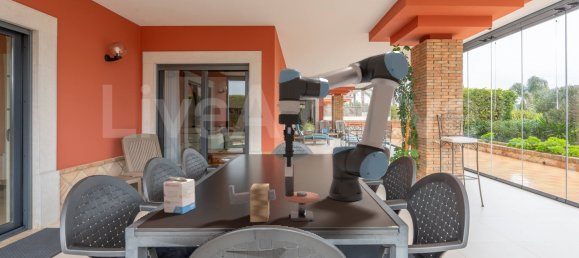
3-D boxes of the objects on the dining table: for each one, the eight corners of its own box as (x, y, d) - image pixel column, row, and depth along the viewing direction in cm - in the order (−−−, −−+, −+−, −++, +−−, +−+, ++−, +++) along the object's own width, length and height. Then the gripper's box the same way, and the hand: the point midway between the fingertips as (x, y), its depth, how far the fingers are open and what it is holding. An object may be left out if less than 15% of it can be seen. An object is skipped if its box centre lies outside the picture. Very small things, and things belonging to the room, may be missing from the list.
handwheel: (317, 194, 122) (317, 162, 122) (320, 203, 110) (320, 167, 110) (285, 194, 122) (284, 162, 122) (284, 203, 110) (284, 167, 110)
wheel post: (312, 213, 121) (312, 196, 120) (314, 220, 113) (314, 202, 112) (290, 213, 121) (290, 196, 120) (291, 220, 113) (290, 202, 112)
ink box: (195, 208, 129) (195, 174, 128) (182, 214, 121) (181, 178, 120) (177, 206, 132) (177, 173, 131) (163, 212, 124) (162, 177, 123)
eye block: (269, 213, 122) (269, 183, 121) (267, 221, 112) (267, 189, 111) (253, 213, 121) (253, 183, 121) (250, 222, 111) (250, 189, 111)
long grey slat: (275, 197, 118) (273, 180, 118) (275, 200, 115) (273, 182, 114) (231, 202, 118) (229, 185, 118) (230, 204, 115) (228, 186, 114)
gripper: (279, 113, 128) (278, 167, 128) (277, 112, 103) (277, 179, 103) (298, 114, 128) (297, 167, 128) (301, 112, 103) (300, 179, 103)
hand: (288, 173), depth 116 cm, fingers open, 13 cm apart
